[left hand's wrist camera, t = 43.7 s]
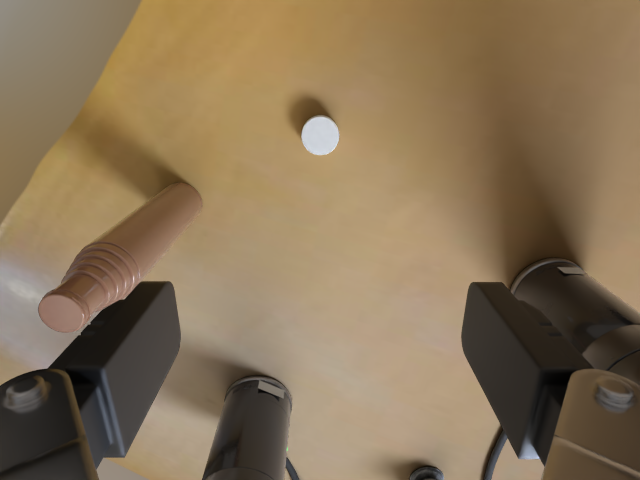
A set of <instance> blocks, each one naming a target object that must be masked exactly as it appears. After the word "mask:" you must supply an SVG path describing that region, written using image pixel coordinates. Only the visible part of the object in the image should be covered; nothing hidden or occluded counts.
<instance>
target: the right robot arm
mask: <svg viewBox="0 0 640 480" xmlns="http://www.w3.org/2000/svg"><path fill="white" fill-rule="evenodd" d="M291 408H292V399H291V396H290V393H289V392H288V390H287V389H286V388H285V386H283V385H282V384H281V383H280V382H278V381H276V380H274V379H272V378H269V377H265V376H248V377H245V378H242V379H240V380H238V381H236V382H235V383H234V384H232V385H231V387H230V388H229V389H228V391H227V394H226V397H225V401H224V406H223V410H222V413H221V416H220V420H219V423H218V427H217V430H216V433H215V437H214V440H213V444H212V447H211V451H210V454H209V458H208V461H207V464H206V468H205V471H204V475H203V478H202V480H284V477H285V467H286V468H287V470H288V472H289V474H290V476H291V478H292V480H299V478H298V476H297V473H296V471H295V469H294V468H293V466H292V464H291V463H290V461H289V460H288V458H287V457H286V455H287V444H288V433H289V423H290V413H291Z"/></svg>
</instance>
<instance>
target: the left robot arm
mask: <svg viewBox="0 0 640 480" xmlns="http://www.w3.org/2000/svg"><path fill="white" fill-rule="evenodd" d="M90 323H91V324H90V325H88V326H87V327H86V328H85V329H84V330H83V331H82V332H81V335H78V336H77V338H76V339H75V340H74V341H73V342H72V343H71V344H70V345H69V346H68V347H67V348H66V349H65V350H64V351H63V353H62V354H61V355H60V356H59V357H58V358H57V359H56V360H55V361H54V362H53V363H52V364H51V365H50V367H49V368H48V369H41V370H36V371H31V372H28V373H25V374H22V375H20V376H17V377H15V378H13V379H11V380H9V381H7V382H5V383H4V384H2V385H1V386H0V480H99V478H98V474H97V471H96V469H97V468H98V466H99V464H100V462H101V461H102V459H103V457H125V456H126V454H127V452H128V450H129V448H130V446H131V444H132V442H133V440H134V438H135V436H136V434H137V432H138V430H139V428H140V426H141V424H142V422H143V420H144V418H145V417H146V415H147V413H148V411H149V409H150V407H151V405H152V403H153V401H154V399H155V397H156V395H157V393H158V391H159V389H160V387H161V385H162V383H163V381H164V379H165V377H166V375H167V374H168V372H169V370H170V368H171V366H172V364H173V362H174V360H175V358H176V356H177V354H178V351H179V347H180V340H181V332H180V325H179V318H178V311H177V305H176V298H175V292H174V287H173V285H172V283H171V282H169V281H143V282H140V283H139V284H138V285H137V286H136V287H135V288H134V289H133V290H132V292H131V293H130V294H129V295H128V296H127V297H126V298H125V300H118V301H116V302H115V303H113V304H111V305H110V306H108V307H106V308H105V309H103V310H102V311H101V312H100V313H99V314H98V315H97V316H96V317H95V318H94V319H93V320H92V321H91V322H90ZM461 337H462V347H463V351H464V354H465V356H466V358H467V360H468V362H469V364H470V366H471V368H472V370H473V372H474V374H475V376H476V378H477V380H478V381H479V383H480V385H481V387H482V389H483V391H484V393H485V395H486V397H487V399H488V401H489V403H490V405H491V407H492V409H493V410H494V412H495V414H496V416H497V418H498V420H499V422H500V424H501V426H502V428H503V431H502V433H501V435H500V437H499V439H498V441H497V443H496V445H495V447H494V450H493V452H492V454H491V457H490V459H489V462H488V465H487V469H486V473H485V477H484V480H491V478H492V474H493V470H494V467H495V464H496V462H497V459H498V457H499V454H500V452H501V450H502V448H503V446H504V444H505V442H506V440H507V438H508V439H509V441H510V443H511V445H512V447H513V449H514V451H515V453H516V455H517V457H518V459H540V460H541V461H542V463H543V465H544V471H543V474H542V478H541V480H640V313H639V312H638V311H637V310H635V309H634V308H633V307H631V306H630V305H628V304H627V303H626V302H624V301H623V300H622V299H620V298H619V297H618V296H616V295H615V294H614V293H612V292H611V291H610V290H608V289H607V288H606V287H604V286H603V285H602V284H600V283H599V282H598V281H596V280H595V279H594V278H592V277H591V276H590V275H588V274H587V273H586V272H584V270H583V269H581V268H580V267H579V266H578V265H576V264H575V263H573V262H571V261H569V260H566V259H562V258H548V259H543V260H540V261H537V262H535V263H533V264H531V265H530V266H528V267H527V268H525V269H524V270H523V271H522V272H521V273H520V274H519V275H518V276H517V277H516V279H515V280H514V282H513V284H512V286H511V289H510V290H509V289H508V288H507V287H506V286H505V285H504V284H503V283H502V282H472V283H471V284H470V286H469V289H468V294H467V300H466V307H465V313H464V320H463V326H462V335H461Z"/></svg>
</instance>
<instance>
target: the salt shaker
mask: <svg viewBox="0 0 640 480" xmlns="http://www.w3.org/2000/svg"><path fill="white" fill-rule="evenodd" d="M410 480H444V476H443V473H442V472H441V471H440V470H438V469H436V468H434V467H423V468H420V469H418V470H416V471H415V472H413V473H412V475H411V477H410Z"/></svg>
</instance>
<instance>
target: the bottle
mask: <svg viewBox="0 0 640 480" xmlns="http://www.w3.org/2000/svg"><path fill="white" fill-rule="evenodd" d="M201 210H202V199H201V197H200V195H199V193H198V192H197V190H196V189H194V188H193V187H192V186H190V185H188V184H185V183H174V184H171V185H169V186H168V187H166V188H165V189H164V190H162V191H161V192H159V193H158V194H157V195H155V196H154V197H153V198H151V199H150V200H149V201H147V202H146V203H144V204H143V205H142V206H140V207H139V208H138V209H136V210H135V211H133V212H132V213H131V214H129V215H128V216H127V217H125V218H124V219H122V220H121V221H120V222H118V223H117V224H116V225H114V226H113V227H111V228H110V229H109V230H107V231H106V232H105V233H103V234H102V235H100V236H99V237H98V238H96V239H95V240H94V241H92V242H91V243H90V244H88V245H87V246H85V247H84V248H83V249H82V250H81V252H80V253H79V254H78V255H77V256H76V257H75V259H74V261H73V263H72V264H71V266H70V268H69V270H68V271H67V273H66V275H65V276H64V278H63V279H62V282H61V284H60V285H59V286H58V287H57V288H55V289H54V290H52V291H50V292H48V293H47V294H46V295H45V296H44V297H43V298H42V300H41V302H40V304H39V307H38V311H39V315H40V318H41V319H42V321H43V322H44V323H45V324H46V325H47V326H48V327H50V328H51V329H53V330H56V331H59V332H73V331H77V330H79V329H81V328H82V327H83V326H84V325H85V324H86V323H87V322H88V321H89V319H90V317H91V315H92V314H93V313H94V312H96V311H99V310H101V309H103V308H104V307H107V306H109V305H111V304H112V303H115V302H116V301H118V300H120V299H123V298H124V297H126V296H127V295H128V294H129V293H131V292H132V290H133V289H134V288H135V287H136V286H137V285H138V284H139V283H140V282H141V281H142V280H143V279H144V278H145V277H146V276H147V274H148V273H149V272H150V271H151V270H152V269H153V268H154V266H155V265H156V264H157V263H158V262H159V261H160V259H161V258H162V257H163V256H164V255H165V254H166V253H167V251H168V250H169V249H170V248H171V247H172V246H173V244H174V243H175V242H176V241H177V240H178V239H179V238H180V236H181V235H182V234H183V233H184V232H185V231H186V230H187V228H188V227H189V226H190V225H191V224H192V223H193V221H194V220H195V219H196V218H197V217H198V216H199V214H200V213H201Z"/></svg>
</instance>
